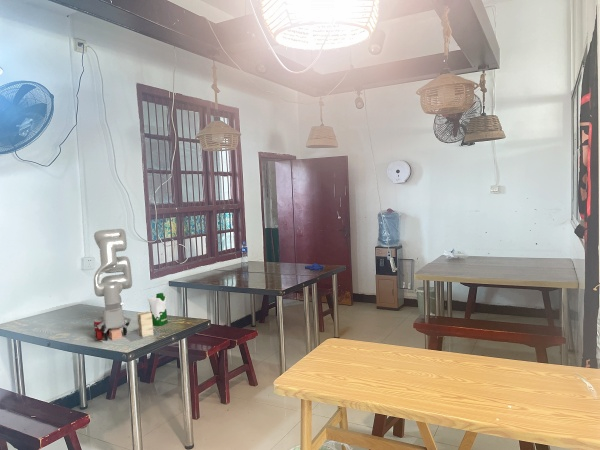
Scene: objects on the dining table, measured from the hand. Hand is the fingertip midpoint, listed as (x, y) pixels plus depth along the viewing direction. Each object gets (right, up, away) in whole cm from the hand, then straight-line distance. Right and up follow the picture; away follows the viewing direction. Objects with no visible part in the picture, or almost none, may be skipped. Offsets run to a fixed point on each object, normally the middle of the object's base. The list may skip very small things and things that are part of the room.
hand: (115, 337), depth 238 cm
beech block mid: (+15, +7, +2) cm, 17 cm away
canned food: (-10, -2, +7) cm, 12 cm away
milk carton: (+17, 0, +23) cm, 28 cm away
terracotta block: (0, -2, 0) cm, 2 cm away
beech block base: (+16, +1, +3) cm, 16 cm away
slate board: (+12, -1, +4) cm, 13 cm away
